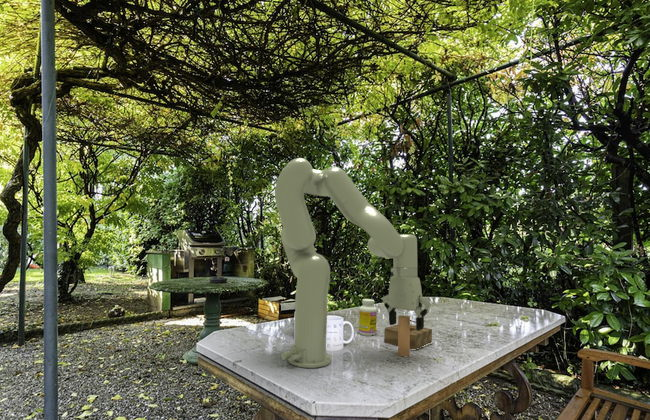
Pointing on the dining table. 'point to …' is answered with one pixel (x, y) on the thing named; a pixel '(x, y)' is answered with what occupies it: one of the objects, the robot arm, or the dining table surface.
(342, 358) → the dining table surface
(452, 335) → the dining table surface
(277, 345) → the dining table surface
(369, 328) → the supplement bottle
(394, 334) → the socket block
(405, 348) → the peg
